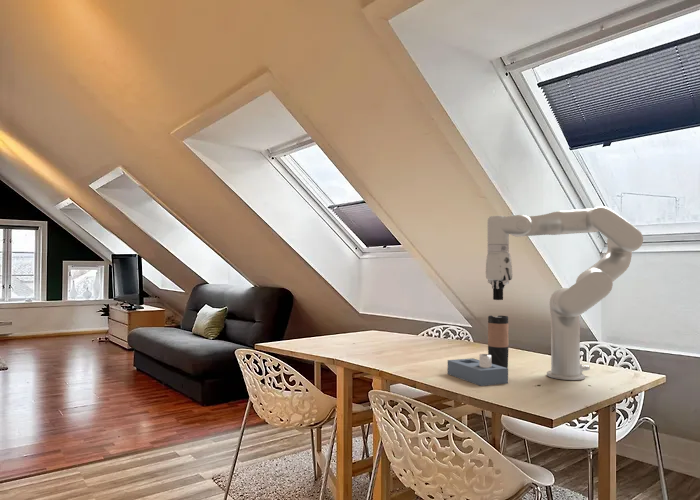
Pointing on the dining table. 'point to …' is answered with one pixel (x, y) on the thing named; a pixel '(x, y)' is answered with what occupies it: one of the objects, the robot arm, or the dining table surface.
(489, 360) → the bushing
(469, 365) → the block
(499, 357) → the travel mug
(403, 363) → the dining table surface
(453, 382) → the dining table surface
